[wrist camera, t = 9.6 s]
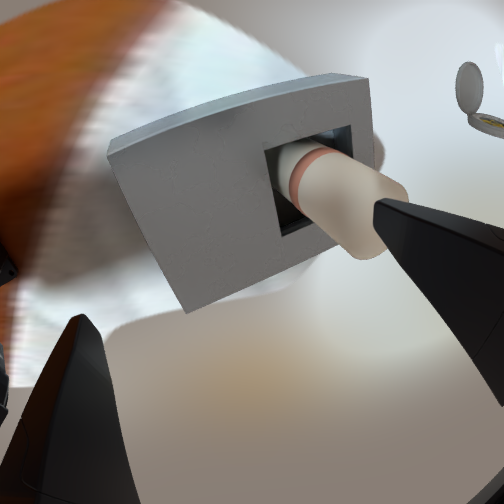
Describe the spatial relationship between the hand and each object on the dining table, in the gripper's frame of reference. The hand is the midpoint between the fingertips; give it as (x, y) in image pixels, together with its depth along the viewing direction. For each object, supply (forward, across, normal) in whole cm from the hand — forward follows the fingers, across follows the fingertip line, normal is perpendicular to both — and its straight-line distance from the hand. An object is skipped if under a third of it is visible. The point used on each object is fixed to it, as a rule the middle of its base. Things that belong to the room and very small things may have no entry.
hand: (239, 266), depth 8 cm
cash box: (+13, -4, +4) cm, 14 cm away
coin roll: (+13, -8, +4) cm, 16 cm away
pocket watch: (+14, -32, +1) cm, 35 cm away
